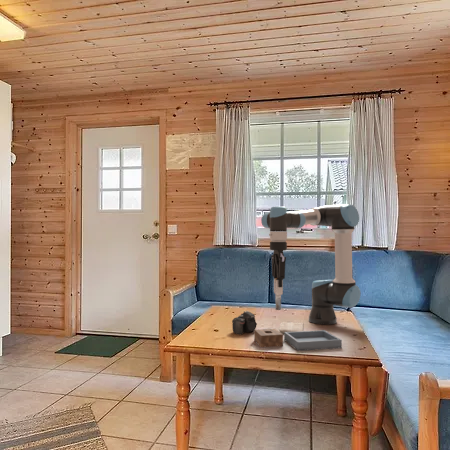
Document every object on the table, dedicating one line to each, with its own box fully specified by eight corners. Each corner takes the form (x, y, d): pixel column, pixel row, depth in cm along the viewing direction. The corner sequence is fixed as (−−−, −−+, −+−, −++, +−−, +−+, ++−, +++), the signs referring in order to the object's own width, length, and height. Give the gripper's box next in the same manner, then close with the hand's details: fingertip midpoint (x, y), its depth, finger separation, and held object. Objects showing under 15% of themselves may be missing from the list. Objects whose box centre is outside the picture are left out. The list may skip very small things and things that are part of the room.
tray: (324, 337, 174) (324, 330, 174) (341, 348, 159) (341, 339, 159) (284, 339, 170) (284, 332, 170) (297, 350, 154) (298, 342, 155)
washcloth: (303, 327, 196) (303, 321, 196) (304, 336, 178) (304, 329, 178) (280, 326, 198) (280, 320, 198) (279, 334, 180) (279, 328, 180)
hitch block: (275, 339, 170) (275, 328, 170) (282, 346, 161) (283, 334, 161) (254, 340, 168) (254, 329, 168) (260, 347, 159) (260, 335, 159)
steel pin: (279, 308, 166) (279, 277, 167) (281, 309, 164) (281, 278, 164) (274, 309, 166) (274, 277, 166) (276, 310, 164) (276, 278, 164)
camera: (247, 336, 175) (247, 315, 175) (230, 333, 181) (230, 312, 181) (260, 330, 186) (261, 310, 186) (243, 327, 192) (244, 308, 192)
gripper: (265, 240, 172) (265, 291, 172) (275, 241, 157) (275, 297, 157) (280, 240, 174) (280, 290, 173) (292, 241, 159) (292, 296, 158)
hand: (278, 293), depth 165 cm, fingers closed on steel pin, 2 cm apart
